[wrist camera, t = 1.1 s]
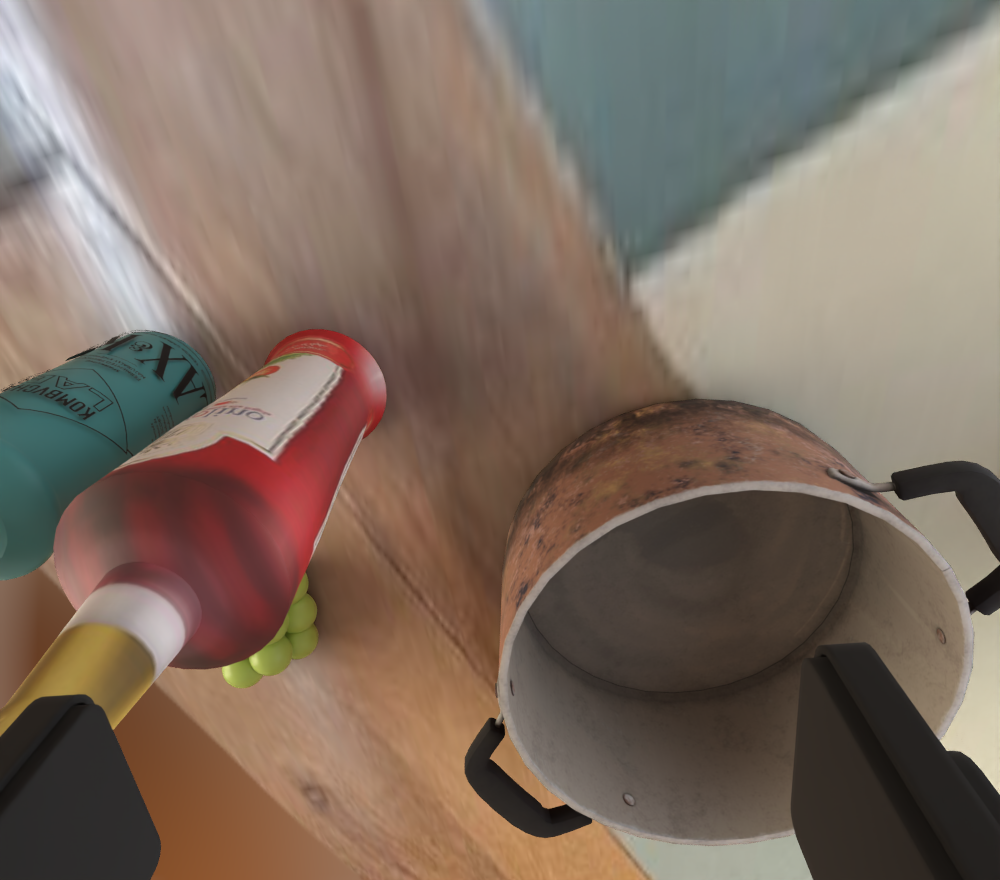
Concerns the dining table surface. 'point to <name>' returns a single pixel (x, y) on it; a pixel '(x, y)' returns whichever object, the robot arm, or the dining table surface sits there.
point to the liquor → (207, 528)
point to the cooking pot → (709, 617)
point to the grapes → (280, 643)
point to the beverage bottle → (86, 431)
